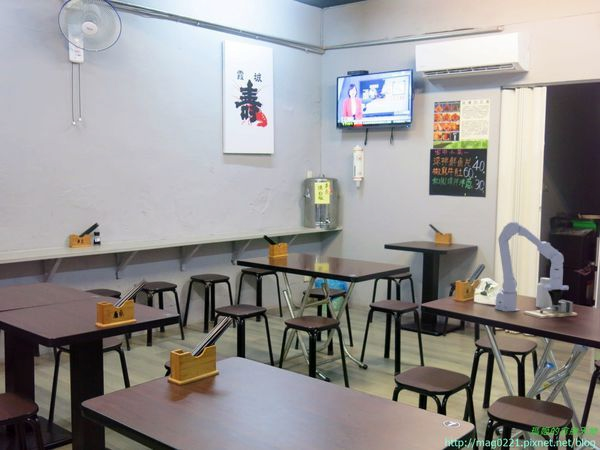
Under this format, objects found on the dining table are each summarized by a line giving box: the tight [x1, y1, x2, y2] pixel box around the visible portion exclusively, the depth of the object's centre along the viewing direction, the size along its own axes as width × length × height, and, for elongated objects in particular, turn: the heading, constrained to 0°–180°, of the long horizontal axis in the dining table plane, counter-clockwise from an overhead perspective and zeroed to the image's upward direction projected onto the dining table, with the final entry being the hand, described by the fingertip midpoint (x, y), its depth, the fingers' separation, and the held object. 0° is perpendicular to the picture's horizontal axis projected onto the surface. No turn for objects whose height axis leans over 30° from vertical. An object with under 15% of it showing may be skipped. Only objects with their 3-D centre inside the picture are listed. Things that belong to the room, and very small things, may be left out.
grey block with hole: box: [552, 300, 566, 313], centre depth 302 cm, size 3×6×5 cm, turn 22°
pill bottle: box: [535, 277, 552, 309], centre depth 317 cm, size 8×8×15 cm
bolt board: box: [523, 299, 578, 319], centre depth 300 cm, size 23×11×6 cm, turn 112°
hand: (554, 305), depth 301 cm, fingers closed
